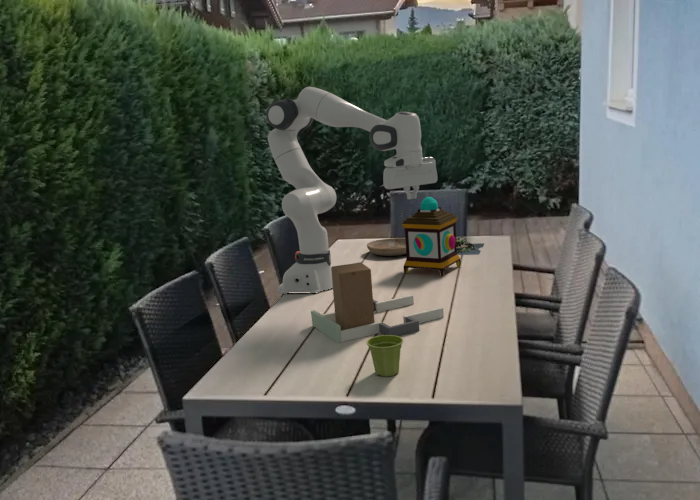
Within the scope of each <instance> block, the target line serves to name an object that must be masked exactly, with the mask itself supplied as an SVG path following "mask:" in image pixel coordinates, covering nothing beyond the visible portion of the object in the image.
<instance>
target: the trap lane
mask: <svg viewBox="0 0 700 500" xmlns="http://www.w3.org/2000/svg"><path fill="white" fill-rule="evenodd" d="M414 304H415V301H414V295H413V294H408V295H405V296H400V297H396V298H391V299H387V300H382V301H377V303H376V313H381V312H385V311H389V310H393V309H397V308H398V309H399V308H402V307H407V306H412V305H414ZM444 313H445V312H444V307H435V308H432V309H427V310H424V311H419V312H415V313H411V314H407V315H403V316H402V317H403V318H402V319H403V320H402V321H403V323H406V321H405V317H408V316H409V317H411V318H413V319H415V320H417V321H419V324H421V323H425V322H426V323H427V322H429V321H433V320H438V319H441V318H442V319H443V318H444V317H445V315H444ZM310 314H311V325H313V326H314V328H315V327H316V328H317V330H318V329H319V330H320V332H321V333H323V334H324V335H326V336H327V337H329V338H330V339H332V340H333V341H334V342H336V343H338V344H339V343H342V342H347V341H351V340H355V339H356V340H357V339H359V338H363V337H367V336H372V335H376V334H381V333H380V330H379V323H382V322H383V321H378V322H375V323H372V324H368V325H363V326H359V327H355V328H351V329H346V330H342V331H341V327H340V325H338V324H337V323H336V319H335V311H333V312H328V313H324V314H321V313H320V312H318V311H316V310H315V309H313V310H311V311H310ZM313 326H312V327H313ZM316 328H315V329H316ZM319 330H318V331H319Z"/></svg>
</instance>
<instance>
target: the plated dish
mask: <svg viewBox="0 0 700 500" xmlns="http://www.w3.org/2000/svg"><path fill="white" fill-rule="evenodd" d="M484 246H485V243H482V242H479V243H471V242H470V241H468V240H467V239H465V238H464V236H463V235H461V236H458V237H457V236H456V248H457V254H458V256H466V255H467V256H468V255H469V256H474V255H477V256H478V255H480V254H481V251H482V250H480V249H481V248H484Z"/></svg>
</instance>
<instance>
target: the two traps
mask: <svg viewBox="0 0 700 500" xmlns="http://www.w3.org/2000/svg"><path fill="white" fill-rule="evenodd" d="M377 302H378V301H377V300H375V299H373V307H374V313H375V312H376V303H377ZM376 313H377V312H376ZM405 321H406V323H404V322H403V323H399V324H395V325H391V326H390V325H388V324H386V323H384V322H383V321H381V322H382V323H379V330H380V333H379V334H381V335H395V336H399V337H401V336H404V335H407V334H411V333H415V332H419V331H420V323H419V321H417V320H415V319H413V318H411V317H409V316H408V317H405Z"/></svg>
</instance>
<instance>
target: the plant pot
mask: <svg viewBox="0 0 700 500" xmlns="http://www.w3.org/2000/svg"><path fill="white" fill-rule="evenodd" d="M403 343H404V338H402V337H401V336H395V335H383V334H381V335H376V336H373V337H371V338H368V339H367V340H366V345H367V347H368V349H369V351H370V355H371V358H372V364H373V369H374V372H375V375H377V376H379V375H380V376H381V377H385V378H386V377H393V376H395V375H396V374H398V373H399V372H400V360H401V348H402V345H403Z"/></svg>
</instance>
